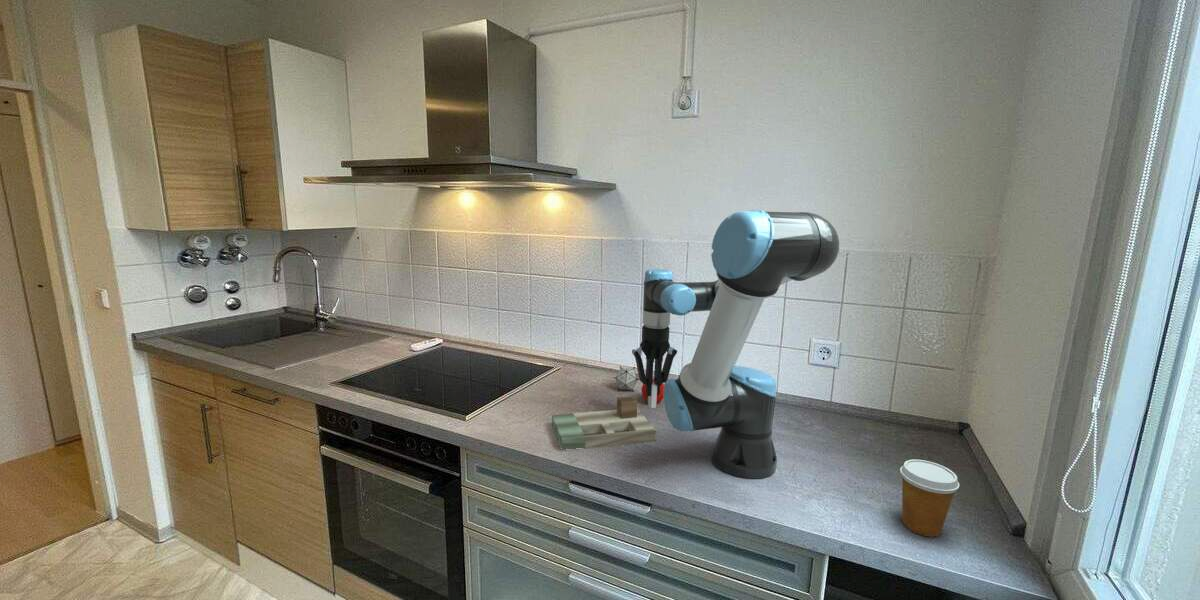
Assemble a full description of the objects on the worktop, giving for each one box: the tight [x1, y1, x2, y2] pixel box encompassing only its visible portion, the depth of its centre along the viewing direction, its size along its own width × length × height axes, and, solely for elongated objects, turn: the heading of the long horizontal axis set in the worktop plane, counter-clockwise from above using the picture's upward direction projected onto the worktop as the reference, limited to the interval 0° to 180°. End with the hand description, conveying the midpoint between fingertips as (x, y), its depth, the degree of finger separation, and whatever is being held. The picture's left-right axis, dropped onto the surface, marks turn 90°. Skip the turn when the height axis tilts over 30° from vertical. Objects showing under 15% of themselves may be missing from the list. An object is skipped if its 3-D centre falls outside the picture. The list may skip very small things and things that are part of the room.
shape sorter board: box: [551, 408, 657, 451], centre depth 132 cm, size 15×25×3 cm, turn 105°
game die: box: [613, 365, 640, 393], centre depth 164 cm, size 9×8×10 cm
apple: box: [641, 378, 665, 405], centre depth 154 cm, size 8×8×7 cm
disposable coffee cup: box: [899, 459, 960, 538], centre depth 95 cm, size 10×10×12 cm
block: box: [616, 395, 638, 419], centre depth 137 cm, size 4×4×4 cm
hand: (651, 405), depth 139 cm, fingers closed
